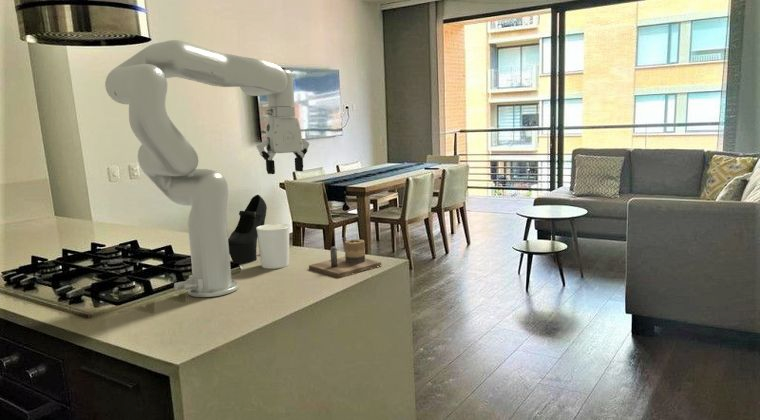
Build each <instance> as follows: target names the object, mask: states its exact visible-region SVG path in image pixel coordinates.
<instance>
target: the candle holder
mask: <svg viewBox="0 0 760 420" xmlns="http://www.w3.org/2000/svg"><path fill="white" fill-rule="evenodd" d="M256 230H257V236H258V237H257V245H258V249H259V258H260V263H261V264H260V265H261V267H262V268H264V269H269V270H271V269H280V268H281V269H282V268H285V267H288V266H289V264H290V225H289V224H287V223H286V224H285V223H270V224H269V223H268V224H264V225H262V226H258V227H257V228H256Z"/></svg>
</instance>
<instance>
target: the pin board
mask: <svg viewBox="0 0 760 420" xmlns="http://www.w3.org/2000/svg"><path fill="white" fill-rule="evenodd" d="M353 243H357V242H353ZM337 249H338V248H337V247H336V246H335V245H334V246H331V247H330V249H329V251H330V259H329V260H326V261H322V262H317V263H313V264H308V270H311V271H314V272H318V273H321V274H324V275H327V274H328V276H331V275H332V277H334V276H335V278H338V277H340V278H343V277H342V276H344V277H346V276H345V275H347V276H349V275H348V274H351V275H353V274H352V273H355V274H357V273H356V272H358V273H360V272H359V271H362V272H364V271H363V270H366V271H368V270H367V269H369V270H372V269H371V268H373V269H375V268H374V267H377V266H380V265H381V266H382V262H381V261H378V260H373V259H370V258H365V262H362V263H354V264H350V263H346V260H345V256H342V257H338V253H337ZM381 266H380V267H381ZM377 268H378V267H377Z"/></svg>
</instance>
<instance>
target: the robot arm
mask: <svg viewBox="0 0 760 420" xmlns="http://www.w3.org/2000/svg"><path fill="white" fill-rule="evenodd" d="M293 76H294V75H293V73H292V72H291V71H290V70H288V69H283V68H282V67H281V66H279V65H278V64H274V63H271V62H269V61H265V60H263V59H258V58H254V57H253V58H252V57H246V56H239V55H236V54H228V53H223V52H219V51H215V50H212V49H209V48H205V47H203V46H199V45H197V44H193V43H191V42H187V41H183V40H177V39H172V40H165V41H159V42H155V43H152V44H150V45H148V46H146V47H144V48H142V50H140V51H138V52H137V53H135V54H133V55H132V56H131V57H128V59H126V60H125V61H123V62H122V63H120V64H119V65H117V66H116V67H114V68H113V69H112V70H111V71H110V72H108V74H107V76H106V77H105V82H104V86H105V87H104V88H105V90H106V93H107V96H109V98H110V99H112V100H113V101H114V102H116V103H119V104H122V105H128V119H129V120H128V121H129V125H130V128H131V131H132V133H133V134H134V136H135V137H136V139H138V141H139V142H140V144H141V145H140V146H139V148H138V151H137V161H138V165H139V167H140V168H141V170H142V172H143V173H144V174H145V175H146V176H147V177H148V179H149V180H150V181H151V182H153V184H154V186H156V187H157V188H158V189H159V190H160V191H161V193H162V194H164V195H165V196H166V198H168V199H169V200H170V201H171V202H173V203H175V204H178V205H181V206H190V207H191V208H190V212H189V215H188V220H187V227H188V228H187V231H188V237H189V238H188V242H189V250H190V262H191V272H192V274H190V275H188V278H187V279H185V281H178V282H174V284H173V288H174V290H175V291H180V290H184V291H187V295H189V296H191V297H194V298H211V297H212V298H213V297H219V296H224V295H229V294H230V293H233V292H235V291H236V290H237V289H239V283H238V281H235V280H233V279H232V271H231V270H232V269H231V268H232V267H231V256H230V254H229V243H228V239H229V234H228V233H229V230H228V222H227V205H228V198H229V185H228V182H227V179H226V178H225V177H224V176H223V174H221V173H220V172H218V171H217V170H216V171H215V170H213V169H207V168H198V166H199V156H198V153H197V151H196V150H195V148H194V147H193V146H192V144H191V143H190V141H188V139H187V138H186V137H185V136H184V135H183V134H182V132H181V131H180V130H179V129H178V128H177V126H176V125H175V124H174V123H173V121H172V120H171V118H170V117H169V115H168V113H167V107H166V97H167V92H168V81H167V79H171V78H178V79H179V78H180V79H185V80H188V81H193V82H196V83H201V84H203V85H209V86H212V87H222V88H236V87H237V88H238V87H239V88H240V89H241V91H242V92H243V93H244V94H246V95H248V96H252V97H257V96H258V97H259V96H260V97H261V96H267V109H265V110H264V114H265V115H267V116H268V117H267V119H266V125H265V139H264V140H262V141H261V142H260V143H258V144H257V145H256V149H257V151H258V152H259V155H260V156H261V157H262V158H263V160H264V161H265V167H266V168H265V169H266V172H267V174H268V175H275V174H276V167H275V160H274V159H273V158H274V157H275V155H276V154H285V153H286V154H288V153H293V154H294V156H295V157H294V169H295V170H294V171H295V172H303V171H304V158H305V155H306V154H307V152H308V149H309V146H310V143H309V142H308V141H307V140H305V139H303V137H302V136H303V135H302V130H301V125H300V121H299V118H298V117H296V111H295V95H294V93H295V92H294V90H295V89H294V77H293ZM265 148H266V150H265Z"/></svg>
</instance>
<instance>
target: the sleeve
mask: <svg viewBox="0 0 760 420" xmlns="http://www.w3.org/2000/svg"><path fill="white" fill-rule="evenodd" d="M353 242H357V243H353ZM365 246H366V243H365V240H364V239H347V240H345V241H344V253H345V255H344V257H345V260H346V263H350V264H354V263H362V262H365V259H366V247H365Z"/></svg>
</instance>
